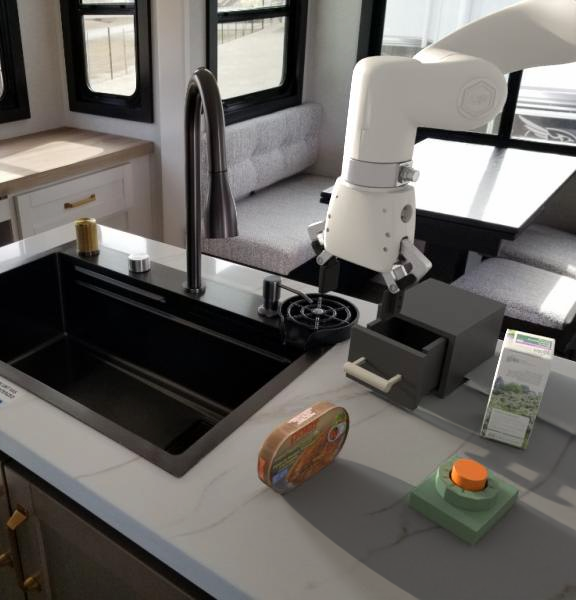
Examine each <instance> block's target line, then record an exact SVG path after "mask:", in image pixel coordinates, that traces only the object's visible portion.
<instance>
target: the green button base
mask: <svg viewBox="0 0 576 600" xmlns="http://www.w3.org/2000/svg"><path fill="white" fill-rule="evenodd" d="M461 459H464V458H463V457H461V456H459V455H457V454H455V455H453V456H452V457H451V458H450V459H448V460H446V461H444V462H442V464H440V465H439V466H438V467H437V469H436V470H435V471H434V472H433V473H431V475H429V476H427V478H425V479H424V480H422V482H420V483H419V484H418V485H417V486H416V487H415V488H413V489H412V490H411V491H410V494H409V499H408V504H407V505H408V507H410V508H412V509H413V510H415V511H416V512H418V513H419V514H421V515H422V516H425V517H426V518H427V519H429V520H431V521H432V522H434V523H435V524H437V525H439V526H440V527H441V528H443V529H445V530H446V531H448V532H449V533H451V534H453V535H454V536H456V537H457V538H459V539H461V540H462V541H463V542H465V543H466V544H468V545H470V546H472V547H474V546H475V544H477V543H478V542H479V541H480V540H481V538H482V537H483V536H484V535H485V534H487V533H488V531H490V530H491V528H492V527H494V525H496V523H498V522H499V520H500V519H501V518H502V517H503V516H505V515H506V513H507V512H508V511H509V510H510V509H512V507H513V506H514V505H515V504H516V503H517V499H518V496H519V493H520V488H518V487H516V486H514V485H512V484H511V483H508V482H507V481H505V480H503V479H501V478H499V477H497V476H496V475H494V474H493V473H492V471H491V470H490V469H488V468H486V467H485V469H486V470H487V473H488V476H487V479H486V483H485V487H484V489H483V490H481V491H478V492H472V491H467V490H463V489H462V488H460V487H458V486H456V485H455V484H454V483H453V482H452V480H451V474H452V470H453V466H454V463H455V462H456V461H458V460H461Z"/></svg>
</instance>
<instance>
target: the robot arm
mask: <svg viewBox="0 0 576 600" xmlns="http://www.w3.org/2000/svg"><path fill="white" fill-rule="evenodd" d="M573 63H576V0H520V1H518V2H516V3H513V4H511V5H507V6H506V7H503V8H499V9H497V10H495V11H493V12H490V13H487V14H485V15H483V16H481V17H479V18H477V19H474V20H473V21H470V22H468V23H466V24H464V25H462V26H461V27H459V28H457V29H456V30H453V31H452V32H450V33H448V34H446V35H445V36H443V37H441V38H440V39H438V40H436V41H434V42H433V43H431V44H429V45H427V46H426V47H424V48H423V49H421V50H420V51H419V52H417V53H416V54H415V55H413V57H409V56H400V55H374V56H367V57H364V58H362V59H360V60H359V61H358V62H357V63H356V64H355V67H354V69H353V72H352V78H351V87H350V96H349V104H348V113H347V120H346V121H347V123H346V131H345V139H344V140H345V141H344V149H343V158H342V166H341V175H340V176H338V177H337V178H336V181H335V183H334V187H333V189H332V192H331V197H330V200H329V203H328V204H329V205H328V208H327V209H328V210H327V214H326V219H324V220H321V221H318V222H315V223H312V224H309V225H308V226H307V227H306V229H307V233H308V235H309V239H310V241H311V243H310V244H311V245H310V246H311V249H312V250H313V252H314V253H315V256H316V263H317V264H318V265H319V274H318V275H319V276H318V290H317V292H318V294H320V295H326V294H329V293H330V292H333V291H335V290H337V288H338V285H339V284H338V283H339V276H340V267H341V262H340V260H337V259H338V258H339V259H342V260H344V261H347V262H350V263H352V264H355V265H358V266H360V267H363V268H366V269H369V270H371V271H375V272H377V273H381V275H382V277H383V279H384V282H385V284H386V287H387V289H385V290H384V291H383V293H382V299H381V303H382V305H381V312H380V319H381V320H383V321H387V320H389V319H391V318H393V317H394V316H396V315H398V314H399V313H400V311H401V309H402V304H403V298H404V293H405V291H406V289H408V288H410V287H411V286H413V285H414V284H417V283H418V282H420V281H421V280H422V278H423V277H425V275H426V274H427V273H428V272H429V271H430V270H431V269H432V267H433V264H432V262H431V261H430V259H429V258H428V257H426V255H424V254H423V253H422V251H420V250H419V248H418V247H416V245H414V243H415V231H416V218H417V217H416V213H417V211H416V209H417V207H416V190H415V186H413V185H410V184H409V183H416V182H417V181H418V180H419V177H420V173H421V172H420V171H419V170H418V169H415V168H413V164H414V163H413V162H414V161H413V157H414V156H413V155H414V150H415V143H416V138H417V130H418V128H420V127H422V128H430V129H431V128H432V129H440V130H445V131H452V132H453V131H455V132H463V131H464V132H465V131H470V130H476V129H478V128H481V127H483V126H485V125H487V124H489V123H490V122H492V121H493V120H494V119H495V118H496V117H498V115H499V114H500V113H501V111H502V110H503V108H504V107H505V104H506V102H507V98H508V93H509V91H508V89H509V87H508V83H507V79H506V77H505V75H508V74H511V73H514V72H515V73H516V72H518V71H522V70H526V69H531V68H538V67H539V68H540V67H548V66H549V67H550V66H560V65H567V64H573ZM323 233H324V234H323ZM409 263H410V265H411V266H412V267H411V268H412V269H411V270H410V271H409V272H407V270H406V268H405V265H408V264H409Z"/></svg>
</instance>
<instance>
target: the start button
mask: <svg viewBox="0 0 576 600" xmlns="http://www.w3.org/2000/svg"><path fill="white" fill-rule="evenodd" d="M485 468H486V467H485V466H484V465H482V463H479V462H478V461H475V460H472V459H467V458H463V459H461V460H458V461H456V462H455V463H454V466H453V470H452V474H451V480H452V482H453V483H454V484H455V485H456V486H458V487H460V488H462V489H463V490H467V491H472V492H478V491H481V490H483V489H484V487H485V483H486V479H487V476H488V473H487V470H486V469H487V468H486V469H485Z"/></svg>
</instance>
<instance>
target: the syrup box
mask: <svg viewBox="0 0 576 600" xmlns="http://www.w3.org/2000/svg"><path fill="white" fill-rule="evenodd" d="M555 344H556V339H555V338H551V337H548V336H547V337H546V336H542V335H537V334H532V333H528V332H524V331H519V330H515V329H509V328H507V330H506V333H505V336H504V339H503V343H502V346H501V351H500V355H499V359H498V363H497V366H496V370H495V374H494V378H493V382H492V384H491V385H492V386H491V389H490V393H489V397H488V401H487V404H486V409H485V413H484V417H483V420H482V425H481V428H480V435H479V436H480V438H484V439H488V440H491V441H493V442H497V443H501V444H504V445H507V446H510V447H514V448H517V449H521V450H526V449H527V446H528V443H529V441H530V437H531V434H532V431H533V428H534V424H535V421H536V417H537V415H538V411H539V408H540V404H541V402H542V398H543V395H544V392H545V389H546V387H547V383H548V379H549V376H550V373H551V371H552V366H553V363H554V355H555V346H556V345H555Z"/></svg>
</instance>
